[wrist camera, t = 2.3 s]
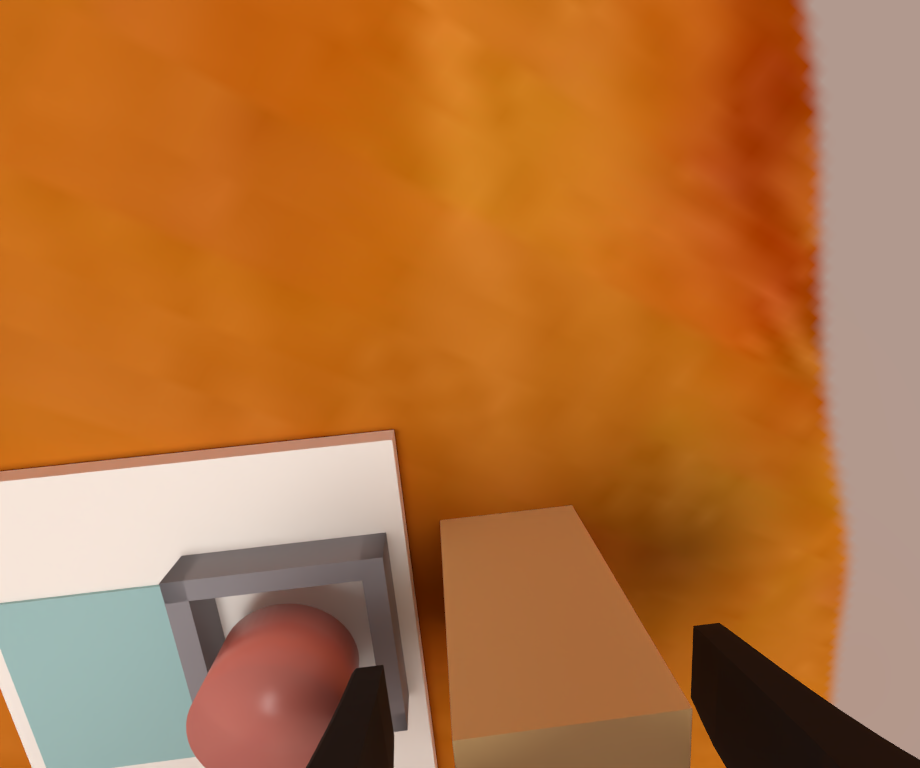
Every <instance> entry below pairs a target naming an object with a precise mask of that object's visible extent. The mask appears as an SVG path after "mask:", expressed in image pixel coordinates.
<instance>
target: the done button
mask: <svg viewBox="0 0 920 768" xmlns="http://www.w3.org/2000/svg"><path fill="white" fill-rule="evenodd" d="M356 668H359V653H358V649H357V645H356V643H355V641H354V638H353V637H352V635H351V633H350V632H349V631H348V630H347V628H346V627H345V626H344V625H343V624H342V623H341V622H340V621H339V620H337V619H336V618H335V617H333V616H332V615H330V614H328V613H326V612H324V611H322V610H320V609H317V608H314V607H311V606H307V605H301V604H277V605H271V606H267V607H264V608H261V609H258V610H256V611H254V612H252V613H250V614H248V615H247V616H245V617H244V618H243V619H241V620H240V621H239V622H238V623H237V624H236V625H235V626H234V627H233V628H232V629H231V631H230V632H229V634H228V635H227V637H226V639H225V641H224V643H223V645H222V647H221V649H220V651H219V653H218V655H217V657H216V658H215V660H214V662H213V664H212V666H211V668H210V670H209V672H208V674H207V676H206V678H205V680H204V681H203V683H202V685H201V687H200V689H199V691H198V693H197V695H196V697H195V699H194V701H193V703H192V705H191V706H190V709H189V712H188V715H187V721H186V733H187V738H188V742H189V745H190V747H191V750H192V751H193V753H194V755H195V757H196V758H197V759H198V760H199V762H200V763H201V764H202V765H203V766H204V767H205V768H306V766H307V764H308V763H309V761H310V759H311V757H312V755H313V753H314V751H315V750H316V748H317V746H318V744H319V742H320V740H321V738H322V736H323V734H324V732H325V731H326V729H327V727H328V725H329V723H330V721H331V719H332V716H333V714H334V712H335V710H336V708H337V706H338V704H339V702H340V700H341V698H342V695H343V693H344V691H345V689H346V686H347V684H348V682H349V679H350V677H351V674H352V672H353V671H354V670H355V669H356Z"/></svg>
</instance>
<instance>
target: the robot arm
mask: <svg viewBox="0 0 920 768" xmlns="http://www.w3.org/2000/svg"><path fill="white" fill-rule="evenodd" d="M691 699H692V701H693V703H694V705H695V707H696V710H697V712H698V714H699V716H700V718H701V720H702V723H703V725H704V727H705V729H706V731H707V733H708V735H709V737H710V739H711V741H712V743H713V745H714V747H715V749H716V751H717V753H718V754H719V756H720V758H721V759H722V761H723V763H724V764H725V766H726V768H920V760H919V759H917V758H916V757H914V756H912V755H911V754H909V753H907V752H905V751H904V750H902V749H900V748H899V747H897V746H895V745H894V744H892V743H891V742H889V741H887V740H886V739H884V738H882V737H881V736H879V735H878V734H876V733H874V732H873V731H872V730H870V729H868V728H867V727H865V726H864V725H862V724H861V723H859V722H858V721H856V720H855V719H853V718H852V717H850V716H849V715H847V714H845V713H844V712H842V711H841V710H839V709H838V708H837V707H835V706H834V705H832V704H831V703H829V702H828V701H826V700H825V699H823V698H822V697H820V696H819V695H818V694H816V693H815V692H813V691H812V690H810V689H809V688H808V687H806V686H805V685H803V684H802V683H801V682H799V681H798V680H796V679H795V678H794V677H792V676H791V675H789V674H788V673H787V672H785V671H784V670H783V669H781V668H780V667H779V666H777V665H776V664H774V663H773V662H772V661H770V660H769V659H768V658H766V657H765V656H764V655H762V654H761V653H760V652H758V651H757V650H756V649H754V648H753V647H751V646H750V645H749V644H747V643H746V642H745V641H743V640H742V639H741V638H739V637H738V636H737V635H735V634H734V633H733V632H731V631H730V630H728V629H727V628H726V627H724V626H723V625H721V624H720V623H715V624H707V625H699V626H694V629H693V655H692V682H691ZM306 768H394V730H393V724H392V717H391V711H390V705H389V698H388V692H387V685H386V679H385V672H384V666H383V665H377V666H369V667H361V668H356V669H355V670H354V671H353V672H352V674H351V677H350V679H349V682H348V684H347V686H346V689H345V691H344V693H343V695H342V698H341V700H340V702H339V704H338V706H337V708H336V710H335V712H334V714H333V716H332V719H331V721H330V723H329V725H328V727H327V729H326V731H325V732H324V734H323V736H322V738H321V740H320V742H319V744H318V746H317V748H316V750H315V751H314V753H313V755H312V757H311V759H310V761H309V763H308V764H307V766H306Z"/></svg>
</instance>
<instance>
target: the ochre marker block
mask: <svg viewBox="0 0 920 768" xmlns="http://www.w3.org/2000/svg"><path fill="white" fill-rule="evenodd" d="M440 531H441V549H442V567H443V585H444V603H445V620H446V638H447V656H448V674H449V692H450V709H451V727H452V743H453V751H454V760H455V768H690V757H691V730H692V707H691V706H690V704H689V702H688V701H687V699H686V697H685V695H684V694H683V692H682V690H681V689H680V687H679V685H678V684H677V682H676V680H675V679H674V677H673V675H672V673H671V672H670V670H669V668H668V667H667V665H666V663H665V662H664V660H663V658H662V656H661V655H660V653H659V651H658V650H657V648H656V646H655V645H654V643H653V641H652V640H651V638H650V636H649V634H648V633H647V631H646V629H645V628H644V626H643V624H642V623H641V621H640V619H639V618H638V616H637V614H636V612H635V611H634V609H633V607H632V606H631V604H630V602H629V601H628V599H627V597H626V596H625V594H624V592H623V590H622V589H621V587H620V585H619V584H618V582H617V580H616V579H615V577H614V575H613V574H612V572H611V570H610V568H609V567H608V565H607V563H606V562H605V560H604V558H603V557H602V555H601V553H600V552H599V550H598V548H597V546H596V545H595V543H594V541H593V540H592V538H591V536H590V535H589V533H588V531H587V530H586V528H585V526H584V524H583V523H582V521H581V519H580V518H579V516H578V514H577V513H576V511H575V509H574V508H573V506H572V505H569V506H560V507H551V508H542V509H534V510H525V511H516V512H507V513H499V514H490V515H481V516H472V517H464V518H455V519H446V520H440Z"/></svg>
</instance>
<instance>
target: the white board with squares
mask: <svg viewBox="0 0 920 768" xmlns="http://www.w3.org/2000/svg"><path fill="white" fill-rule="evenodd" d="M277 604H301V605H307V606H311V607H314V608H317V609H320V610H322V611H324V612H326V613H328V614H330V615H332V616H333V617H335V618H336V619H337V620H339V621H340V622H341V623H342V624H343V625H344V626H345V627H346V628H347V630H348V631H349V632H350V633H351V635H352V637H353V638H354V641H355V643H356V645H357V649H358V653H359V668H361V667H369V666H377V665H383V666H384V672H385V679H386V685H387V692H388V698H389V705H390V711H391V717H392V724H393V730H394V768H438V766H437V758H436V751H435V743H434V735H433V727H432V720H431V712H430V704H429V697H428V689H427V681H426V673H425V666H424V658H423V650H422V642H421V635H420V627H419V619H418V611H417V604H416V596H415V588H414V581H413V573H412V565H411V557H410V550H409V542H408V534H407V526H406V519H405V511H404V503H403V496H402V488H401V480H400V472H399V465H398V457H397V449H396V441H395V434H394V430H386V431H377V432H367V433H358V434H348V435H339V436H329V437H320V438H311V439H301V440H292V441H282V442H273V443H263V444H254V445H245V446H235V447H226V448H216V449H207V450H198V451H188V452H179V453H169V454H160V455H150V456H141V457H132V458H122V459H113V460H103V461H94V462H84V463H75V464H66V465H56V466H47V467H37V468H28V469H18V470H9V471H0V688H1V691H2V693H3V696H4V698H5V701H6V704H7V706H8V709H9V711H10V714H11V716H12V719H13V721H14V724H15V726H16V729H17V731H18V734H19V736H20V739H21V741H22V744H23V746H24V749H25V751H26V754H27V756H28V759H29V761H30V764H31V766H32V768H205V767H204V766H203V765H202V764H201V763H200V762H199V760H198V759H197V758H196V757H195V755H194V753H193V751H192V750H191V747H190V745H189V742H188V738H187V733H186V721H187V715H188V712H189V709H190V706H191V705H192V703H193V701H194V699H195V697H196V695H197V693H198V691H199V689H200V687H201V685H202V683H203V681H204V680H205V678H206V676H207V674H208V672H209V670H210V668H211V666H212V664H213V662H214V660H215V658H216V657H217V655H218V653H219V651H220V649H221V647H222V645H223V643H224V641H225V639H226V637H227V635H228V634H229V632H230V631H231V629H232V628H233V627H234V626H235V625H236V624H237V623H238V622H239V621H240V620H241V619H243V618H244V617H245V616H247V615H248V614H250V613H252V612H254V611H256V610H258V609H261V608H264V607H267V606H271V605H277Z"/></svg>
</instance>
